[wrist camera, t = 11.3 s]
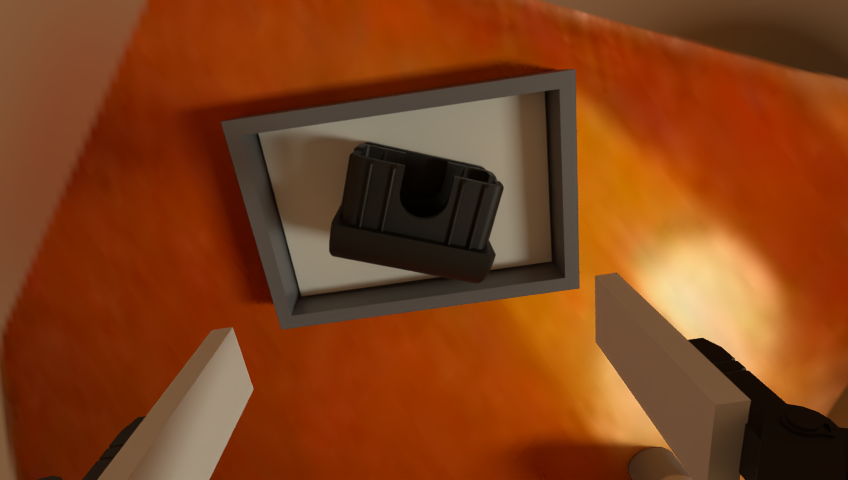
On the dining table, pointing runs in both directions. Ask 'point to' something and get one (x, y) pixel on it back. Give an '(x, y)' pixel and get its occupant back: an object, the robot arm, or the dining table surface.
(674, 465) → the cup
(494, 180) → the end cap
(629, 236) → the dining table surface
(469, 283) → the shallow grey tray
